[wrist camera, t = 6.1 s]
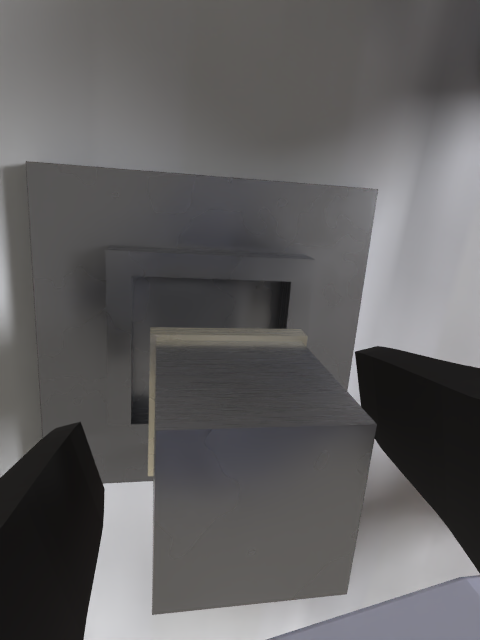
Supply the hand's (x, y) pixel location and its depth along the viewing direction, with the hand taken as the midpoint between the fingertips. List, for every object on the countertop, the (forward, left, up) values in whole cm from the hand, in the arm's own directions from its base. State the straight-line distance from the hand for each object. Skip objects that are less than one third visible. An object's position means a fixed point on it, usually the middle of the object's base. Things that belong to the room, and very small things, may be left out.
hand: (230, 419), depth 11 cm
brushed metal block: (0, 0, -2) cm, 2 cm away
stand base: (0, 0, -7) cm, 7 cm away
